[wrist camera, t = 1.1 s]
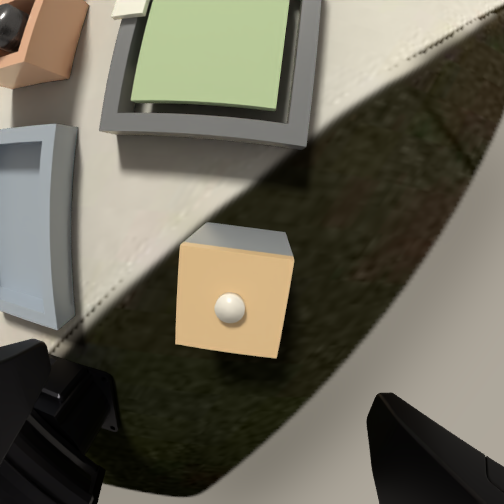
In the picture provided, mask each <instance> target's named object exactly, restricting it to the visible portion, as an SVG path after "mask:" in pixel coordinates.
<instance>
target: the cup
mask: <svg viewBox="0 0 504 504" xmlns="http://www.w3.org/2000/svg"><path fill="white" fill-rule="evenodd" d="M5 3H7V4H10V5H12V6H14V7H16V8H17V9H19V10H21V11H23V12H25V13H27V14H29V15H30V16H29V19H28V22H27V25H26V28H25V31H24V34H23V37H22V40H21V44H20V47H19V51H18V52H15V53H12V54H11V53H9V52H6V51H3V50H0V86H1V87H5V88H10V89H15V88H20V87H25V86H29V85H35V84H40V83H46V82H51V81H58V80H64V79H69V78H70V73H71V69H72V64H73V60H74V56H75V52H76V48H77V44H78V40H79V37H80V33H81V30H82V26H83V23H84V20H85V17H86V14H87V10H88V7H89V5H88V4H87V3H86V2H85V1H84V0H0V5H2V4H5Z"/></svg>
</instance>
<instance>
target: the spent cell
mask: <svg viewBox="0 0 504 504" xmlns="http://www.w3.org/2000/svg"><path fill="white" fill-rule="evenodd" d="M29 16H30V15H29V14H27V13H25V12H23V11H21V10H19V9H17V8H16V7H14V6H12V5H10V4H7V3H5V4H2V5H0V50H3V51H6V52H9V53H11V54H12V53H15V52H18V51H19V47H20V44H21V40H22V37H23V34H24V31H25V28H26V25H27V22H28V19H29Z"/></svg>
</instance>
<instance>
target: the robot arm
mask: <svg viewBox="0 0 504 504" xmlns="http://www.w3.org/2000/svg"><path fill="white" fill-rule="evenodd" d="M105 378H106V379H107V380H106V379H105ZM101 428H103V429H107V430H110V431H113V432H117V431H118V430H119V421H118V416H117V410H116V404H115V397H114V391H113V384H112V378H111V376H110V374H108V373H107V372H104V371H101V370H97V369H94V368H90V367H87V366H84V365H81V364H77V363H74V362H71V361H68V360H65V359H62V358H59V357H56V356H53V355H50V354H48V350H47V346H46V344H45V343H44V342H43V341H40V340H37V339H29V340H26V341H22V342H18V343H14V344H10V345H6V346H2V347H0V504H97V503H98V498H99V494H100V490H101V486H102V482H103V478H104V474H105V469H103V468H102V467H101V466H98V465H96V464H95V463H94V462H93V461H91V460H90V459H89V458H87V457H86V456H85V454H86V452H87V451H88V449H89V447H90V445H91V444H92V442H93V440H94V439H95V437H96V435H97V434H98V432H99V430H100V429H101ZM367 431H368V439H369V448H370V457H371V466H372V472H373V477H374V481H375V486H376V490H377V495H378V499H379V504H504V467H503V466H502V465H500V464H498V463H497V462H495V461H494V460H492V459H490V458H489V457H488V456H486V457H485V455H484V454H483V453H481V452H480V451H478V450H477V449H475V448H473V447H472V446H470V445H469V444H467V443H466V442H464V441H463V440H461V439H460V438H458V437H457V436H455V435H454V434H452V433H451V432H449V431H448V430H446V429H445V428H443V427H442V426H440V425H439V424H437V423H436V422H434V421H433V420H431V419H430V418H428V417H427V416H426V415H424V414H422V413H421V412H420V411H418V410H417V409H415V408H414V407H412V406H411V405H410V404H408V403H407V402H405V401H404V400H402V399H401V398H399V397H398V396H397V395H395V394H394V393H379V394H377V395H376V397H375V399H374V402H373V404H372V407H371V409H370V411H369V414H368V416H367Z"/></svg>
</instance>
